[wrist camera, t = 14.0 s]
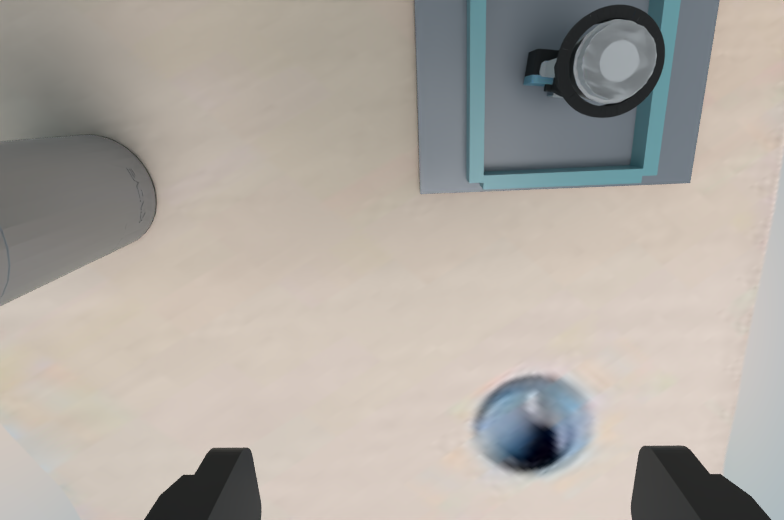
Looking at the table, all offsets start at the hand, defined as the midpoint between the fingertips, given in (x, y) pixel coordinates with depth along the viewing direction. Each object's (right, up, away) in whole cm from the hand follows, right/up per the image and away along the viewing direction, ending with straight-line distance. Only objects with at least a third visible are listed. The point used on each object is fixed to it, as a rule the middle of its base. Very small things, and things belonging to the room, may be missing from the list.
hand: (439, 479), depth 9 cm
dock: (+11, +18, +23) cm, 31 cm away
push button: (+11, +17, +22) cm, 31 cm away
